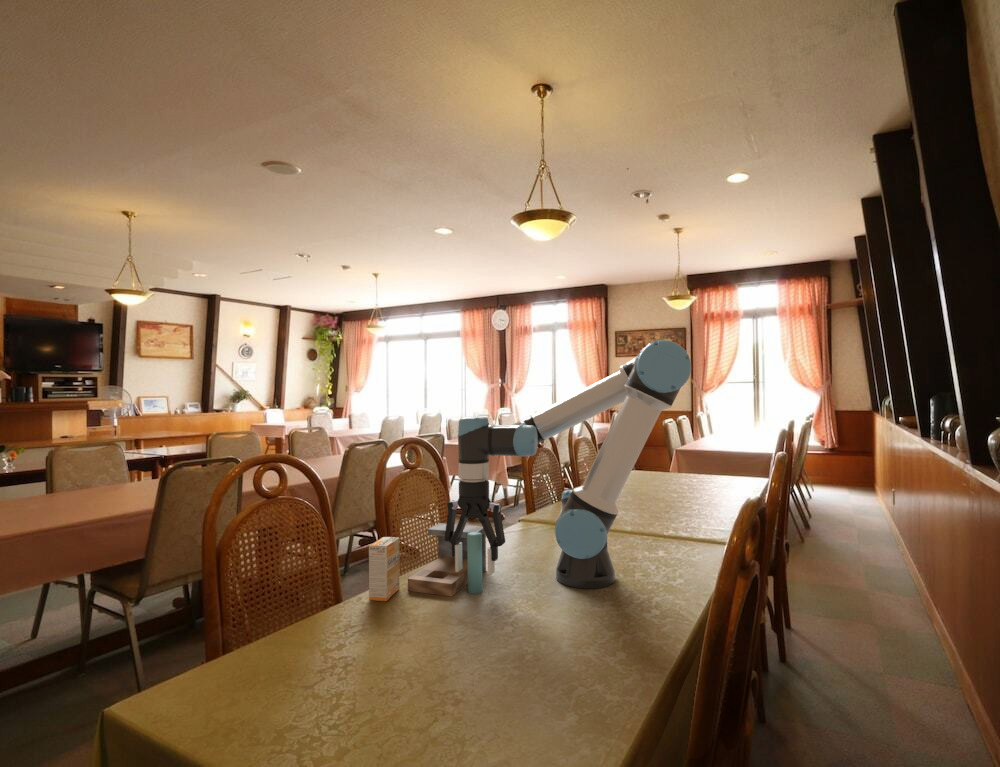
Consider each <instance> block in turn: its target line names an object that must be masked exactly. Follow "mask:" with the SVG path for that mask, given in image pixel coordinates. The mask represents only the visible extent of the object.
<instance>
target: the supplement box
mask: <svg viewBox="0 0 1000 767" xmlns="http://www.w3.org/2000/svg"><path fill="white" fill-rule="evenodd" d="M368 570H369V571H368V589H369V590H368V591H369V592H368V596H369V597H368V600H370V601H376V602H377V601H378V602H379V601H380V602H387V601H388V600H389V599H390V598H391V597H392V596H393V595H395V593H396V592H398V591H399V590H400V537H397V536H396V537H395V536H393V537H392V536H383V537H380V538H379V539H378V540H375V541H374V542H373V543H371V544H369V545H368Z"/></svg>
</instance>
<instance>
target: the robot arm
mask: <svg viewBox="0 0 1000 767" xmlns="http://www.w3.org/2000/svg"><path fill="white" fill-rule="evenodd" d="M691 371H692V362H691V359H690V356H689V354H688V352H687V351H686V349H685V348H684V347H683V346H681V344H678V343H676V342H674V341H672V340H669V339H668V340H666V339H657V340H654V341H651V342H649V343H647V344H646V345H645V346H644V347H643V348H642V349H641V350H640V352H639V353H638V354H637V355H636V356H635V357H633V358H632V359H630V360H629V361H627V362H625V363H623V364H622V365H620V366H619V368H618V371H617V372H614V373H612V374H610V375H609V376H606V377H604V378H601V379H600V380H599V381H597V382H594V383H593V384H590V385H589V386H587V387H585V388H583V389H580V390H578V391H576V392H574V393H573V394H571V395H569V396H567V397H564V398H562V399H561V400H559V401H557V402H555V403H553V404H551V405H549V406H547V407H544V408H543V409H541V410H539V411H537V412H535V413H533V414H532V415H529V416H526V418H525V417H524V418H523V419H521V420H519V421H516V422H514V423H512V424H502V425H501V424H497V425H496V424H490V421H489V418H488V417H486V416H463V417H461V418H460V419H459V420H458V430H457V442H458V443H457V448H458V449H457V450H458V478H459V479H460V480H459V481H458V496H459V497H458V499H457V500H450V501H448V502H447V503H446V506H447V511H448V512H447V518H446V523H445V524H446V531H445V538H444V539H445V541H448V542H450V543H451V544H452V556H453V557H455V572H459V571H460V570H461V569H463V568H462V543H461V542H459V541H460V537H461V535H462V532H463V530H464V527H465V525H467V522H468V520H469V518H471V519H472V518H475V519H478V521H479V522H480V524H481V526H483V529H484V531H485V534H486V538H487V542H488V543H489V547H488V548H487V576H492V575H493V574H494V573H496V572H495V570H496V569H495V566H496V563H495V562H497V560H498V558H499V547H501V546H503V545H505V543H506V538H505V537H506V536H505V532H504V526H503V519H502V514H501V512H502V503H494V502H492V501H491V499H490V480H488V478H489V477H490V464H489V463H490V462H489V459H490V458H489V457H490V456H492V457H493V456H504V457H505V456H507V457H508V456H509V457H520V458H523V457H531V456H532V457H533V456H535V455H536V454H537V451H538V445H539V444H540V443H542V442H544V441H546V440H549V439H550V438H552V437H554V436H556V435H558V434H560V433H563V432H564V431H567V430H569V429H571V428H572V427H575V426H576V425H579V424H581V423H583V422H586V421H587V420H588V419H591V418H593V417H595V416H597V415H599V414H601V413H604V412H605V411H607V410H609V409H611V408H614V407H615V406H617V405H619V404H621V405H620V408H619V410H618V412H617V415H616V416H615V418H614V421H613V422H612V425H611V426H610V428H609V430H608V432H607V434H606V437H605V438H604V441H603V443H602V445H601V446H600V448H599V450H598V452H597V454H596V457H595V458H594V460H593V463H592V465H591V467H590V469H589V470H588V473H587V475H586V477H585V478H584V481H583V482H582V484H581V485H580V486H576V487H574V488H573V489H566V490H563V491H562V493H561V498H560V502H561V512H560V514H559V517H558V518H557V520H556V522H555V524H554V535H555V540H556V542H557V545H558V546H559V548H560V549H561V552H560V555H559V558H558V562H557V566H556V568H555V579H556V580H557V581H558V582H559V583H560V584H563V585H565V586H568V587H572V588H576V589H577V588H578V589H599V588H606V587H608V586H610V585H613V584H614V582H615V580H616V577H615V575H616V574H615V573H616V572H615V569H614V565H613V563H612V559H611V555H610V553H609V551H608V534H609V532H610V529H611V527H612V526H613V524H614V522H615V520H616V517H617V515H618V514H619V509H618V508H617V504H616V503H617V501H618V498H619V496H620V494H621V492H622V491H623V489H624V487H625V485H626V483H627V480H628V478H629V477H630V475H631V473H632V471H633V469H634V467H635V465H636V463H637V460H638V459H639V457H640V454H641V452H642V451H643V449H644V447H645V445H646V442H647V441H648V438H649V437H650V434H651V433H652V431H653V429H654V427H655V425H656V423H657V421H658V419H659V416H660V414H661V413H662V411H664V410H667V409H670V408H672V406H673V404H674V402H675V400H676V398H677V396H678V394H679V392H680V390H681V388H682V387H683V386H685V384H686V383H687V382H688V380H689V378H690V376H691V373H692V372H691ZM489 508H490V511H491V513H492V520H493V526H492V523H491V520H490V516H489V513H488V510H489ZM457 509H460V511H461V514H460V517H459V520H458V523H457V528H456V530H455V533H454V535H453V532H454V525H455V524H456V516H457ZM493 527H494V529H493Z"/></svg>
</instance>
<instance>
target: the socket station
mask: <svg viewBox="0 0 1000 767" xmlns="http://www.w3.org/2000/svg"><path fill="white" fill-rule="evenodd" d="M446 524H447V523H445V522H443V523H442V522H439V523H437V524H435V525H433V526H431V527H430V528H428V529H427V535H430V536H437V551H438V552H437V553H438V554H437V556H438V557H437V559H435V560H433V561H432V562H430V563H429V564H428V565H426V566H424V567H423V568H421V569H420V570H419V571H417V572H415V573H414V574H412V575H410V576H409V577H408V578H407V591H408V592H413V593H416V592H417V593H422V594H429V595H431V594H432V595H438V596H446V597H454V595H455V594H456V593H458V592H459V591H460V590H461V589H462V588H464V587H465V586H466V585H468V562H467V534H468V533H472V532H478V533H481V534H482V573H484V572H486V571H487V549H486V548H487V543H486V542H487V540H486V538H487V536H486V534H485V531H484V529H483V526H482V525H481V526H480V525H470V524H469V525H467V524H466V525H465V527H464V530H463V532H462V535H461V537H460V541H459V542H461V543H462V568H463V569H461V570H460V571H459V572H455V557H453V556H452V544H451V543H450V542H448V541H445V539H444V538H445V531H446ZM457 525H458V523H455V525H454V532H453V535H454V533H455V530H456V528H457Z"/></svg>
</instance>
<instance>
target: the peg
mask: <svg viewBox="0 0 1000 767" xmlns="http://www.w3.org/2000/svg"><path fill="white" fill-rule="evenodd" d="M467 562H468V583H467V592H468V593H469V594H471V595H472V594H473V595H474V594H475V595H476V594H477V595H479V594H480V593H483V572H482V534H481V533H478V532H472V533H468V534H467Z"/></svg>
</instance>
